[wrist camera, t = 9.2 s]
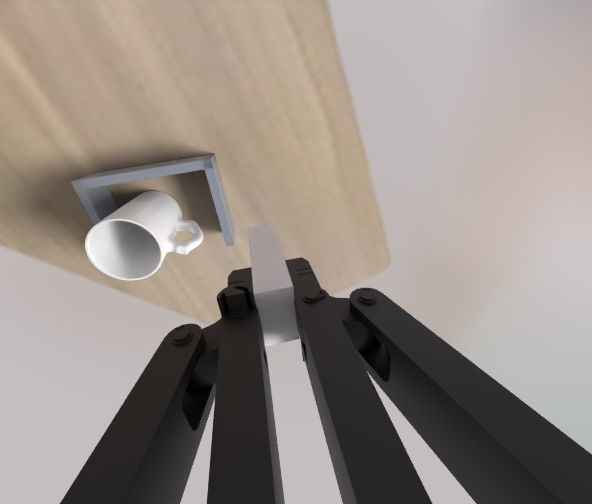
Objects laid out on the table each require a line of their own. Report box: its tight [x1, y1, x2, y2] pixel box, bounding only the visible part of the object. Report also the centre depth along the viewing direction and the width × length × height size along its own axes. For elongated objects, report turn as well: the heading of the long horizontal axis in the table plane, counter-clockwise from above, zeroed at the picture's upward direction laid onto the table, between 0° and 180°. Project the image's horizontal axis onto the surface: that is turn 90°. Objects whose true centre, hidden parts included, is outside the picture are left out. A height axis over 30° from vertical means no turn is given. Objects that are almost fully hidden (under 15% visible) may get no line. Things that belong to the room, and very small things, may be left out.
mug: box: [85, 191, 203, 280], centre depth 32 cm, size 10×7×12 cm, turn 79°
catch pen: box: [70, 154, 235, 247], centre depth 34 cm, size 11×15×5 cm
